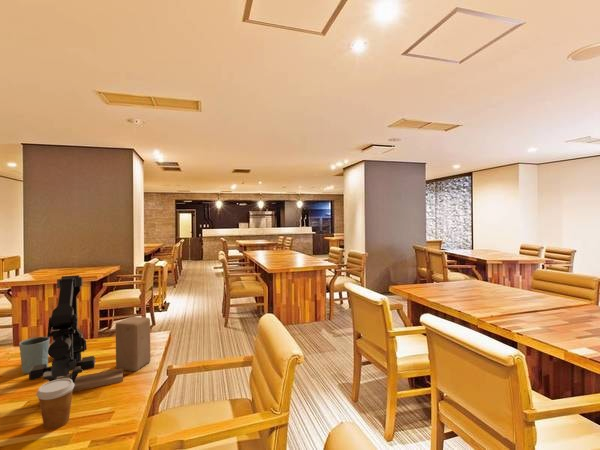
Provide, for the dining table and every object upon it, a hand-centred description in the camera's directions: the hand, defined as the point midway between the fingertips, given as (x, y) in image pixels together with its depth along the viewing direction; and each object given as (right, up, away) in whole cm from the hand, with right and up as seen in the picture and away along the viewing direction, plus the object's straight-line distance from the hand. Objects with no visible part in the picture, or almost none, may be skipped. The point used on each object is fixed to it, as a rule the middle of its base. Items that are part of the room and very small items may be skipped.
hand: (64, 390), depth 118 cm
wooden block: (+13, -2, +24) cm, 27 cm away
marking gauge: (-2, -2, +3) cm, 4 cm away
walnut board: (+3, -2, +9) cm, 10 cm away
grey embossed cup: (-28, -2, +22) cm, 36 cm away
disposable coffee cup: (+8, -3, -15) cm, 18 cm away
